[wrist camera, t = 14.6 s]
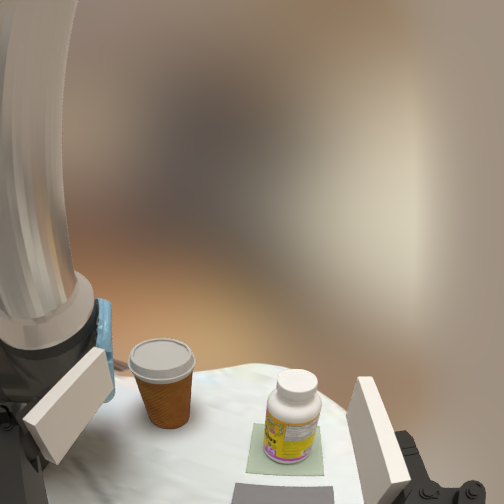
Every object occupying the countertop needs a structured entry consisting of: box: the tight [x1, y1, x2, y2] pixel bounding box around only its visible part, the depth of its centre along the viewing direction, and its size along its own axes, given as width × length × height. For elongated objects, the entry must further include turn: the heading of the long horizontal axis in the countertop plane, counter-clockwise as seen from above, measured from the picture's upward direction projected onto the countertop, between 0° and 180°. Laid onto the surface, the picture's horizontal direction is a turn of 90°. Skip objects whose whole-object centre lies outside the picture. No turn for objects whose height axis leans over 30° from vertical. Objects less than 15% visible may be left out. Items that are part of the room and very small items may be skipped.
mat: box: [246, 423, 324, 476], centre depth 35 cm, size 10×10×1 cm
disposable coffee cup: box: [128, 338, 196, 429], centre depth 39 cm, size 10×10×12 cm
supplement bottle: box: [263, 369, 322, 464], centre depth 33 cm, size 7×7×13 cm
